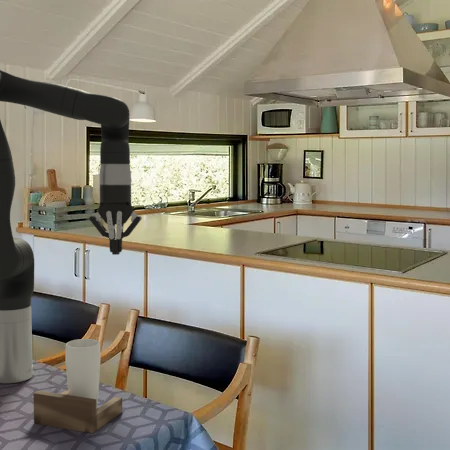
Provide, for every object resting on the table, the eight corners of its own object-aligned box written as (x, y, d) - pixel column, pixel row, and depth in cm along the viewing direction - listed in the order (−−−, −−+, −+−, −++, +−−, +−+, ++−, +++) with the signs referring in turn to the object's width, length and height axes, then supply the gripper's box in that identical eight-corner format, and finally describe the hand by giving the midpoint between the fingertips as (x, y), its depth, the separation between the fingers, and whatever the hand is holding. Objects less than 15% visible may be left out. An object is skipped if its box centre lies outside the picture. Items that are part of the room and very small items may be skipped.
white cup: (74, 426, 118) (73, 349, 116) (61, 414, 123) (59, 342, 122) (106, 418, 122) (105, 344, 120) (92, 407, 127) (91, 336, 126)
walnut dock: (67, 403, 129) (67, 375, 129) (122, 411, 125) (122, 383, 124) (34, 423, 119) (33, 393, 118) (92, 433, 114) (91, 402, 114)
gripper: (84, 183, 144) (85, 256, 145) (140, 183, 144) (140, 256, 145) (91, 182, 151) (92, 252, 153) (144, 183, 151) (145, 252, 152)
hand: (116, 254), depth 149 cm, fingers closed
